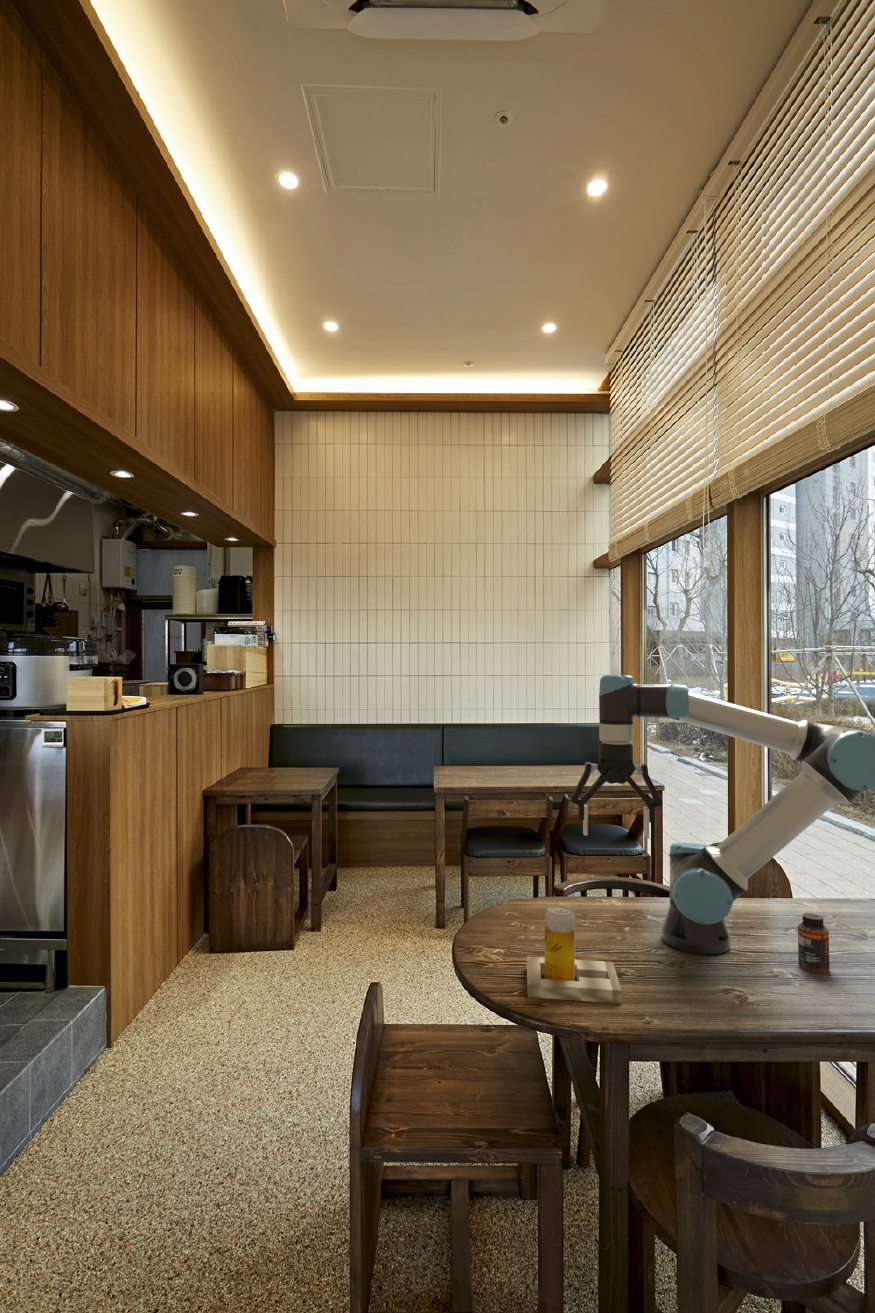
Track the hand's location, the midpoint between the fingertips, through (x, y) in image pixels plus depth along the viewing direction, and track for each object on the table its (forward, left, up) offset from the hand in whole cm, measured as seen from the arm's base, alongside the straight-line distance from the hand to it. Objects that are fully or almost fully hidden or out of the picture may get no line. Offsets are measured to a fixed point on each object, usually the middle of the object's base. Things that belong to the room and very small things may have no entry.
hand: (615, 835), depth 152 cm
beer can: (+13, +17, -27) cm, 35 cm away
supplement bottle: (-42, +1, -27) cm, 50 cm away
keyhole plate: (+11, +17, -27) cm, 34 cm away
